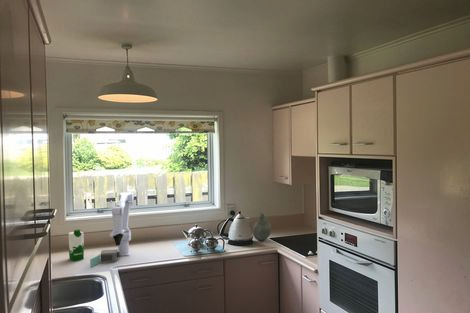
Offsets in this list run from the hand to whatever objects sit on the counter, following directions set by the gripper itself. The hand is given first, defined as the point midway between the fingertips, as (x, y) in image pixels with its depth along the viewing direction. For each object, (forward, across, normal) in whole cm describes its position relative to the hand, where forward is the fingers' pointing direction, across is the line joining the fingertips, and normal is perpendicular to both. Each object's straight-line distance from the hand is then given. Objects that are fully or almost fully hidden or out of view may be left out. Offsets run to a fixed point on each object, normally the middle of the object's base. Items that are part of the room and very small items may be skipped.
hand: (117, 245), depth 249 cm
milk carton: (+10, +6, -29) cm, 31 cm away
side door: (+10, +11, -9) cm, 18 cm away
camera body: (+10, 0, -6) cm, 12 cm away
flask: (+10, -80, +77) cm, 112 cm away
